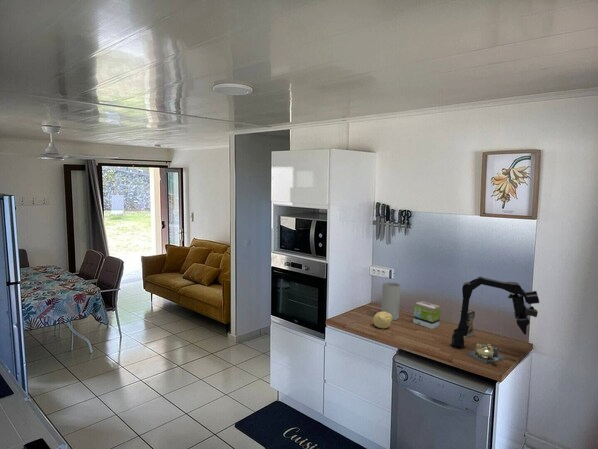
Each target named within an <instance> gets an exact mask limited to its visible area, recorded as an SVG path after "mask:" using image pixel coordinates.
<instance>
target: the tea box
mask: <svg viewBox="0 0 598 449" xmlns="http://www.w3.org/2000/svg"><path fill="white" fill-rule="evenodd" d="M440 321H441V305H437V304H435V303H430V302H427V301H424V300H420V301H417V302H415V303H414V306H413V321H412V322H413V324H416V325H418V326H422V327H425V328H428V329H430V330H434V329H435V328H438V327H439V326H440Z"/></svg>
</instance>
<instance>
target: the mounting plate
mask: <svg viewBox="0 0 598 449" xmlns="http://www.w3.org/2000/svg"><path fill="white" fill-rule="evenodd" d="M466 355H467V356H469V357H470V358H473V359H475V360H477V361H479V362H481V363H483V364H484V365H488V364H492V363H496V362H497V363H498V362H500V361H503V360H504V361H505V357H506V356H503V355H501V354H499V353H498V360H493V359H492V358H484V357H480V356H478V355H477V354H476V353H475V350H471V351H467V353H466Z"/></svg>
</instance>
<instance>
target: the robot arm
mask: <svg viewBox="0 0 598 449" xmlns="http://www.w3.org/2000/svg"><path fill="white" fill-rule="evenodd" d="M481 285H483V286H487V287H492V288H497V289H501V290H504V291H506V292H508V293H509V294H508V295H507V299H512V306H513V310H514V312H513V315H514V318H515V321H516V325H517V327H518V328H519V329H520V330H521V332H522V333H523V335H527V333H528V332H527V331H528V330H527V327H528V325H530V323H531V322H530V319H529V318H528V316H530V317H533V318H537V317H538V313H539V312H538V310H537V309H535V307H534V306H532V305H533V304H540V298H539V296H538V292H537V290H533V291H527V292H526V291H525V289H523V288H522V286H521V284H520V283H518V282H517V281H501V280H497V279H492V278H487V277H483V276H477V277H476V278H474V279H473V280H470V281H465V282H463V283H462V286H461V287H462V288H461V291H462V305H461V310H460V311H461V319H460V321H459V324H458V323H457V328H455V329H454V330H453V332H452V336H451V343H450V344H449V346H451V347H453V348H455V349H457V350H459V349H464V348H466V346H465V338H464V336H466V335H467V332H468V333H469V323H467V314H468V310H469V305H470V299H471V296H472V293H473V291H474V290H475V289H477V288H478V287H479V286H481ZM525 303H527V304H528V305H530V306H529V307H526V305H525Z"/></svg>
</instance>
